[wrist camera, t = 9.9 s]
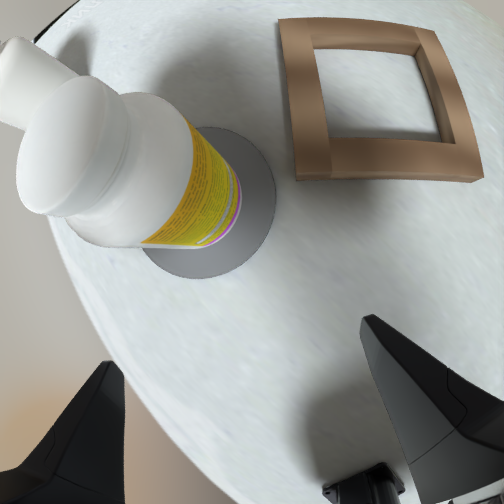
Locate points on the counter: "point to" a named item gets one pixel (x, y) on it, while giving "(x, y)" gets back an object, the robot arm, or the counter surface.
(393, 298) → the counter surface
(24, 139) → the supplement bottle
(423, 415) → the robot arm
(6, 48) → the pill bottle
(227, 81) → the counter surface
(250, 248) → the coaster
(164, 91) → the counter surface
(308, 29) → the pocket block
